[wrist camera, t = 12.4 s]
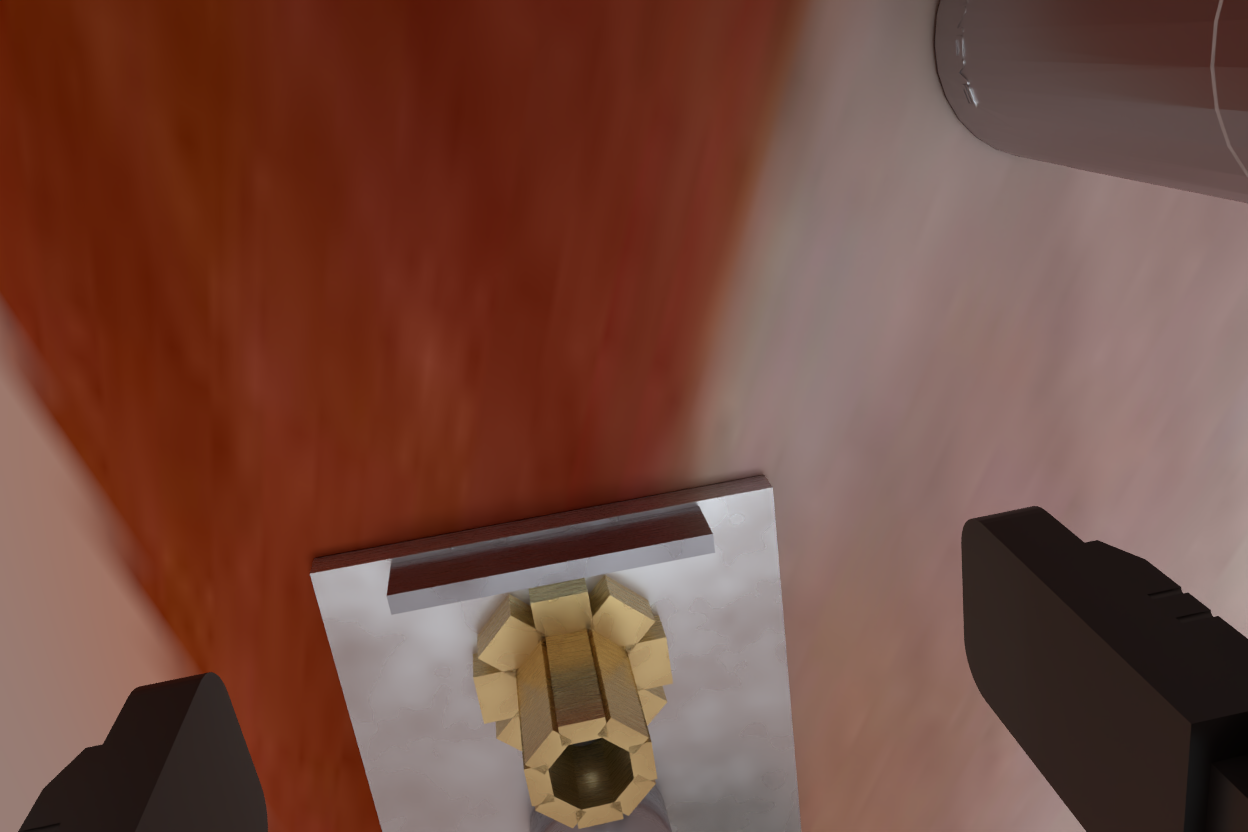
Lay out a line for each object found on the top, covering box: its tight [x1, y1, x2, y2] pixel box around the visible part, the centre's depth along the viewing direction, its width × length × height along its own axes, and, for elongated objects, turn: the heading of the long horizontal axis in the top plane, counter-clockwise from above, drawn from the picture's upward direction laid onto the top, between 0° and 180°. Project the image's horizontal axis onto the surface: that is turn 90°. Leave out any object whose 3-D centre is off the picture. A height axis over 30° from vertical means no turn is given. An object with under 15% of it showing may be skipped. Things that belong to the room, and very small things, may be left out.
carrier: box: [310, 475, 801, 832], centre depth 41 cm, size 18×21×6 cm
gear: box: [473, 575, 673, 829], centre depth 37 cm, size 8×8×7 cm
